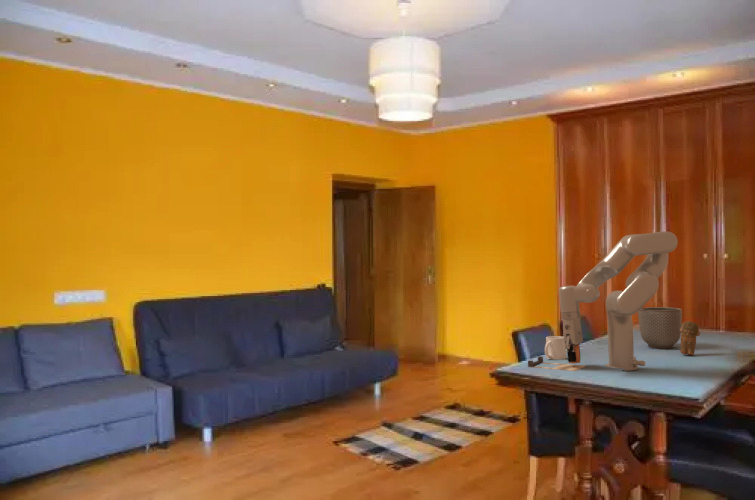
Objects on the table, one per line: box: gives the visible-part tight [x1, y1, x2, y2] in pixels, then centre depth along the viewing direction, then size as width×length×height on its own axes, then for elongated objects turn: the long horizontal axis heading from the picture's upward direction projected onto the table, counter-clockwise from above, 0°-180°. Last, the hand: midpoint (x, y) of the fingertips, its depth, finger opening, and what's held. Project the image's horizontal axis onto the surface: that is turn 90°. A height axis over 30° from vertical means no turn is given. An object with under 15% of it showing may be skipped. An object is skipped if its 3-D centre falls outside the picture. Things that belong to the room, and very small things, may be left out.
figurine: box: [679, 320, 701, 356], centre depth 278 cm, size 8×8×15 cm
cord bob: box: [568, 344, 581, 364], centre depth 251 cm, size 4×4×7 cm
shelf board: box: [527, 356, 586, 372], centre depth 252 cm, size 20×13×4 cm, turn 54°
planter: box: [637, 306, 683, 350], centre depth 302 cm, size 20×20×19 cm
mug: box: [544, 335, 567, 360], centre depth 272 cm, size 12×8×10 cm
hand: (574, 360), depth 251 cm, fingers closed on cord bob, 4 cm apart
